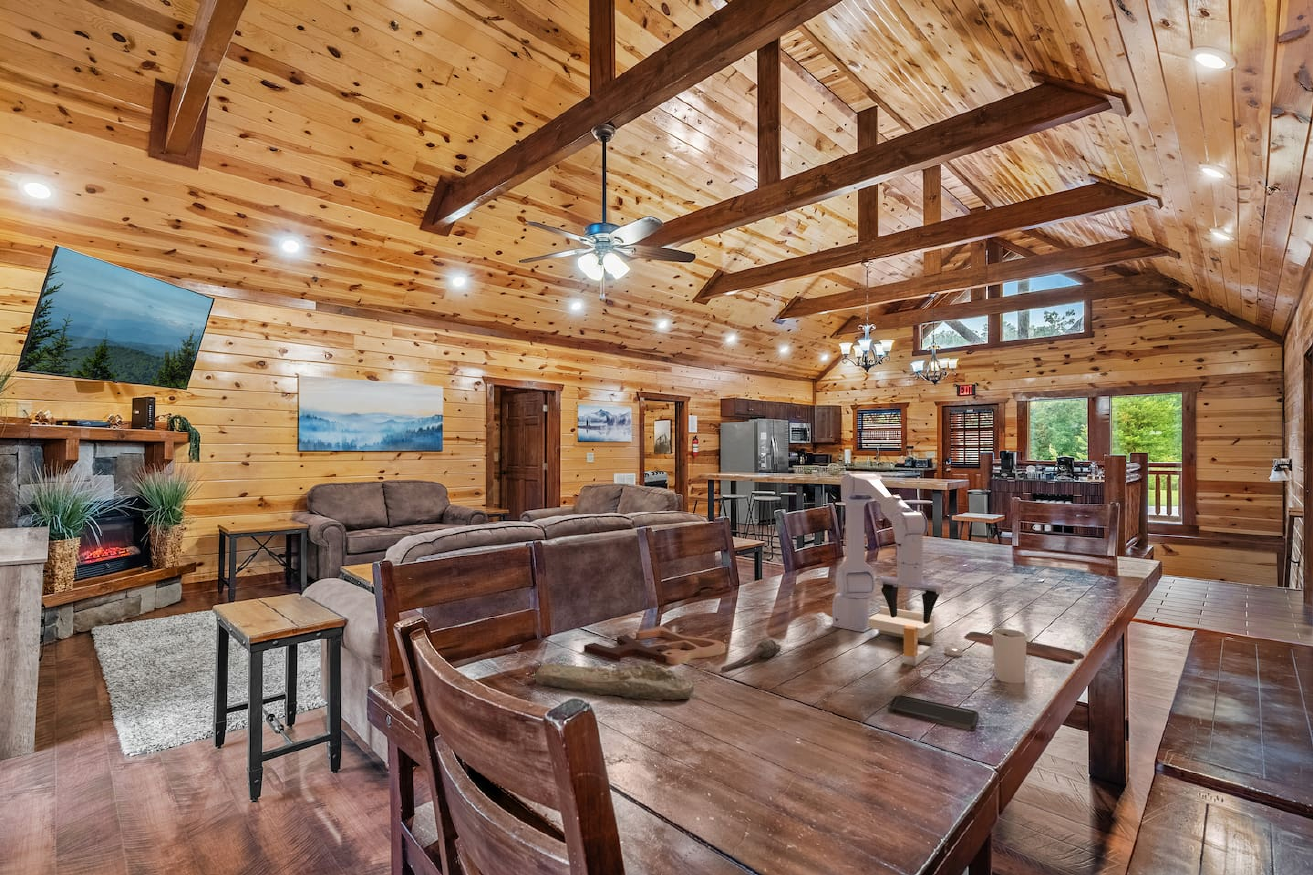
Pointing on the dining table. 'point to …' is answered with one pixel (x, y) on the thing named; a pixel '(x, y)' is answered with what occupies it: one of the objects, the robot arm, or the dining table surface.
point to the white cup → (1009, 655)
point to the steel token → (953, 651)
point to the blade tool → (913, 647)
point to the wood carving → (659, 647)
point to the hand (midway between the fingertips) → (910, 619)
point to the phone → (934, 712)
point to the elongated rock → (618, 681)
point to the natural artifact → (756, 654)
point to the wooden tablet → (1032, 648)
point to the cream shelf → (902, 624)
